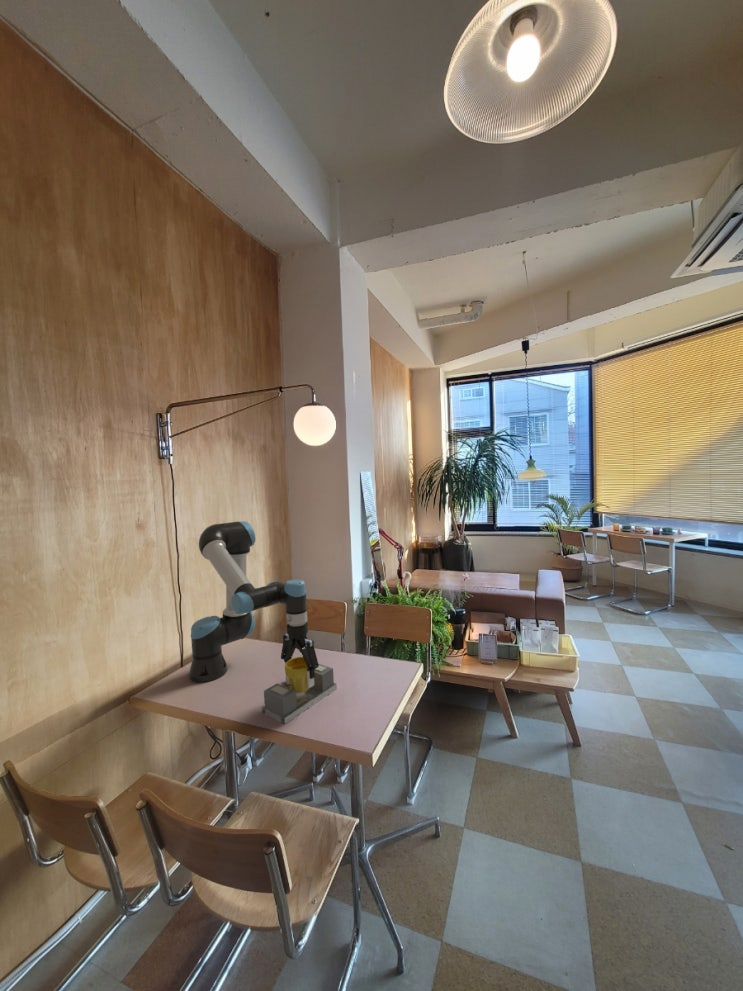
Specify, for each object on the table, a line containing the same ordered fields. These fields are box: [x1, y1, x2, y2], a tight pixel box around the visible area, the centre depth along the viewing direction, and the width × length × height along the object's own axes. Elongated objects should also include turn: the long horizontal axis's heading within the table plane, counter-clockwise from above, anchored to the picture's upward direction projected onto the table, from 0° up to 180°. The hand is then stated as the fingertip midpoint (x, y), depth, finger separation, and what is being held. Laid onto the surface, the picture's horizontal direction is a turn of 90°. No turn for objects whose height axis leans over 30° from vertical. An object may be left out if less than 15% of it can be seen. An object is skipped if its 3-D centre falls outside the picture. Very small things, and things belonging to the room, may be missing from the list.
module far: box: [312, 663, 335, 690], centre depth 152 cm, size 10×6×6 cm, turn 54°
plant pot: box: [284, 656, 311, 693], centre depth 144 cm, size 10×10×10 cm
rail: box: [261, 682, 338, 725], centre depth 144 cm, size 12×26×2 cm, turn 144°
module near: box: [263, 683, 297, 716], centre depth 136 cm, size 10×6×6 cm, turn 54°
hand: (300, 682), depth 144 cm, fingers closed on plant pot, 10 cm apart
